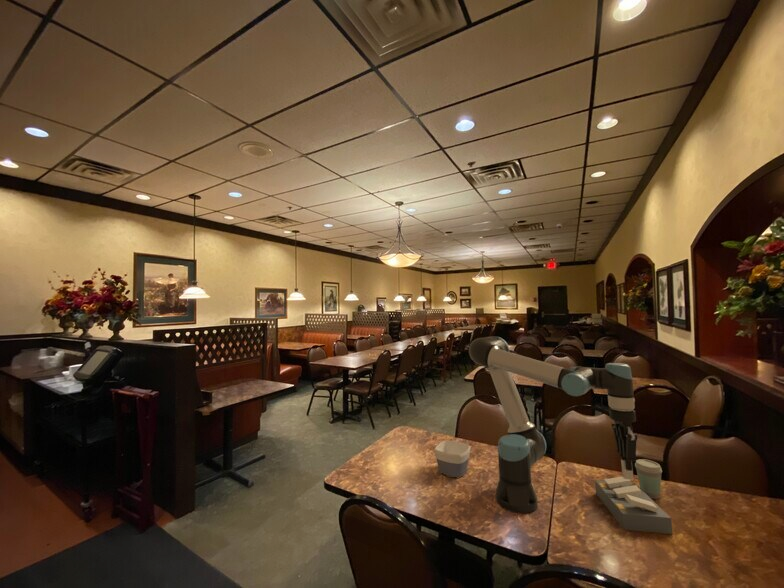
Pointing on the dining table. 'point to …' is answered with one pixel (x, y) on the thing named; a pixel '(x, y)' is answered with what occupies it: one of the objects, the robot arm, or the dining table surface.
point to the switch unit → (634, 511)
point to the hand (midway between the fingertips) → (627, 478)
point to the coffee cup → (649, 477)
